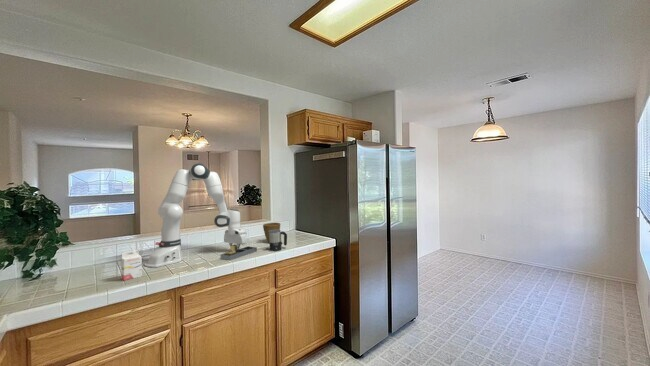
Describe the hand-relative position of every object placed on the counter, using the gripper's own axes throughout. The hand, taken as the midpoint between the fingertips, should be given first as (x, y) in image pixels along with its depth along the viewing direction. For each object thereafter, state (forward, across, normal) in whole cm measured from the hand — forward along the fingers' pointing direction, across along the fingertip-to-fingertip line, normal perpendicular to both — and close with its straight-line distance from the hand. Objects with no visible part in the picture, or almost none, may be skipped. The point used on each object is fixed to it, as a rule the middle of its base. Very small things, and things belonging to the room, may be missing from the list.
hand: (234, 249), depth 199 cm
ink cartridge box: (+3, -10, -64) cm, 65 cm away
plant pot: (+2, +5, +36) cm, 37 cm away
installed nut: (+2, +11, -13) cm, 17 cm away
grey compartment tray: (+2, +11, -5) cm, 12 cm away
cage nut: (+2, 0, 0) cm, 2 cm away
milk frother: (+2, +21, +22) cm, 31 cm away
